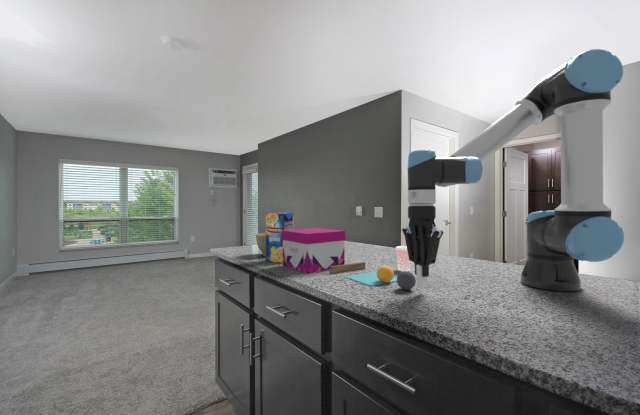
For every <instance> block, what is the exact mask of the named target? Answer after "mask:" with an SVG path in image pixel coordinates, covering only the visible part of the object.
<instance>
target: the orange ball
mask: <svg viewBox="0 0 640 415" xmlns="http://www.w3.org/2000/svg"><path fill="white" fill-rule="evenodd" d="M376 272H377V277H378V279H379V280H380V281H381V282H385V283H386V282H390V281H391V280H392V279H393V277H395V276H394V270H393V268H392V267H390V266H389V265H381V266H379V267H378V269H377V271H376ZM386 284H387V283H386Z"/></svg>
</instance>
